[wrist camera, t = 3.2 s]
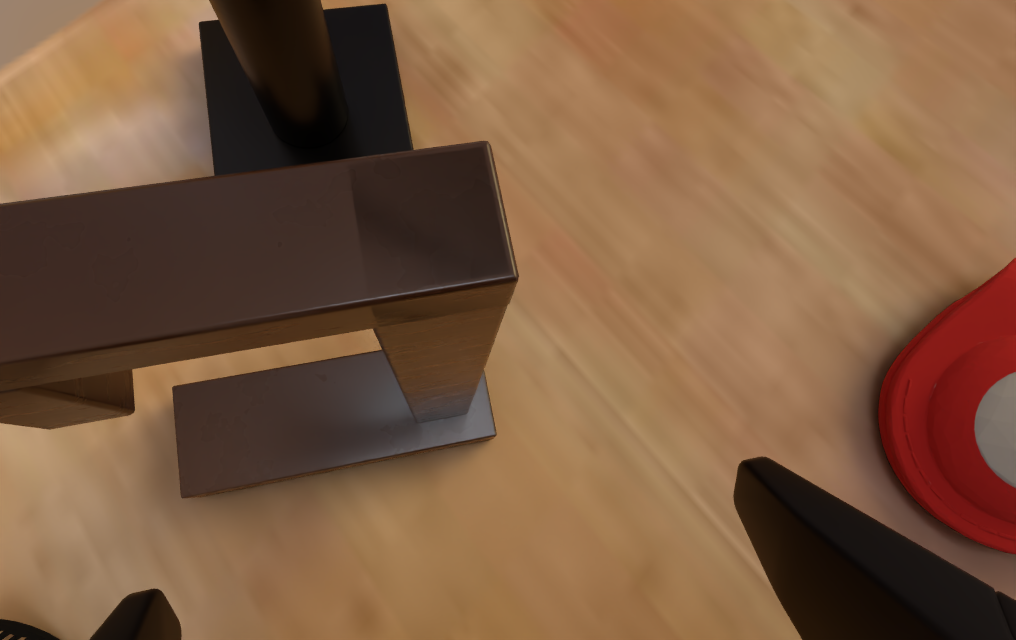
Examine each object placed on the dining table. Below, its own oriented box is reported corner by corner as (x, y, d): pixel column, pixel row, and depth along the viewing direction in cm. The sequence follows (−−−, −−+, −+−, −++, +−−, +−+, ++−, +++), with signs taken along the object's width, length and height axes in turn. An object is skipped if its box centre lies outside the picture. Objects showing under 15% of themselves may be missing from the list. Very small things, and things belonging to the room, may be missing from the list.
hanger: (493, 438, 20) (606, 345, 6) (199, 497, 19) (-488, 544, 5) (475, 342, 21) (538, 64, 7) (190, 392, 20) (-434, 175, 6)
